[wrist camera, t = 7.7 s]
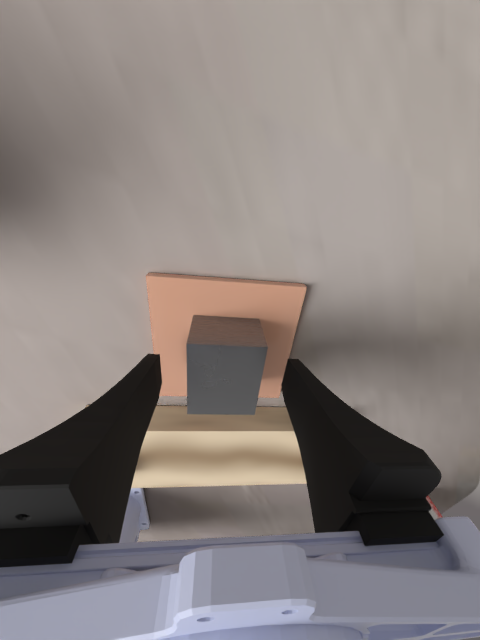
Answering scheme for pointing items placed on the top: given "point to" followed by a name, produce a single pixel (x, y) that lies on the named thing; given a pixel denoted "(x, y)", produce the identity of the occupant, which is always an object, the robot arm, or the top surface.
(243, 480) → the hand plane
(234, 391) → the gray rectangular block
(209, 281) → the terracotta tile
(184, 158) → the top surface
